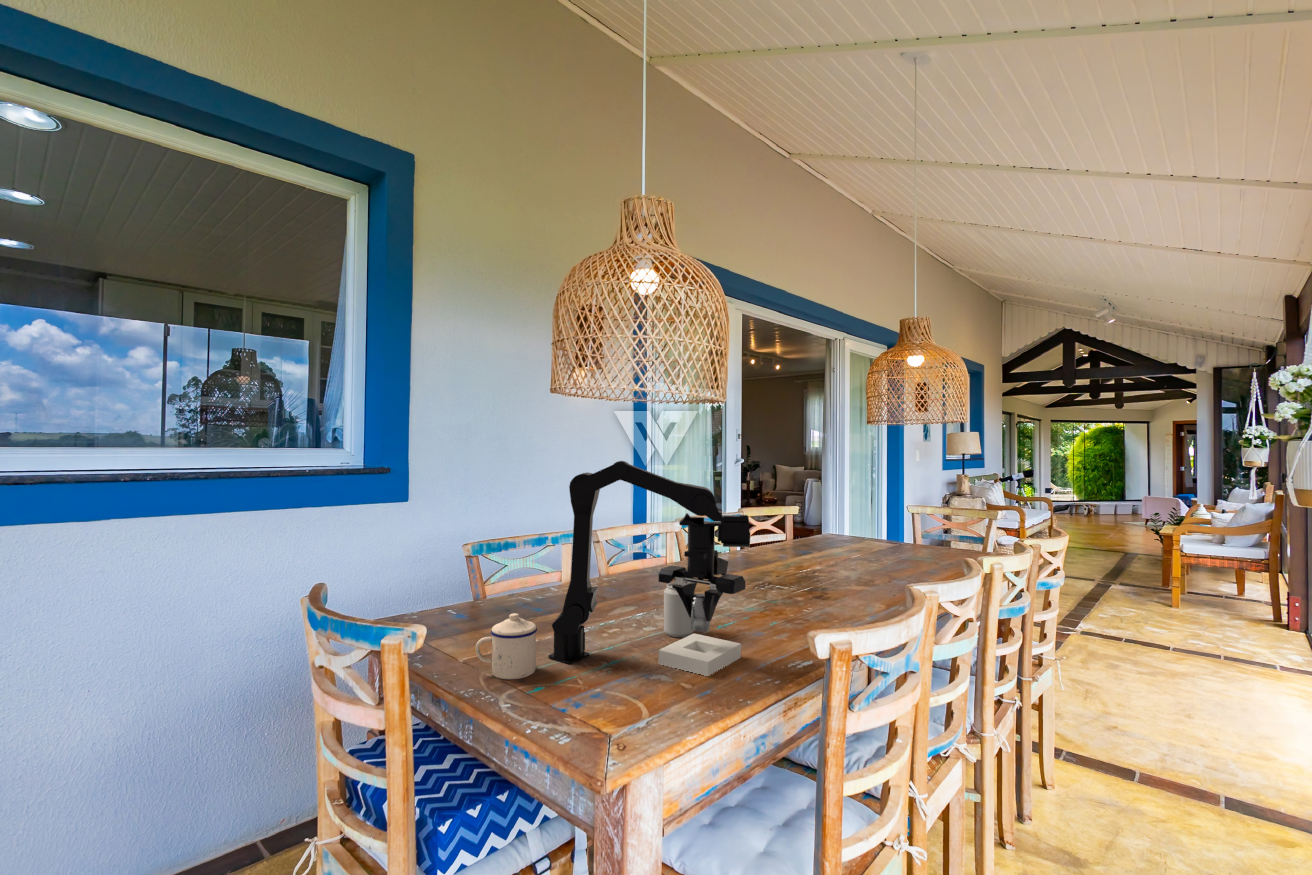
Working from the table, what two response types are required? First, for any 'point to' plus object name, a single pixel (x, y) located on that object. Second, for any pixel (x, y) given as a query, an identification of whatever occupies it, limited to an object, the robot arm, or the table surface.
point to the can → (675, 614)
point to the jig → (700, 654)
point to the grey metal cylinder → (699, 613)
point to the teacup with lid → (511, 648)
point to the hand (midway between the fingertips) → (700, 619)
